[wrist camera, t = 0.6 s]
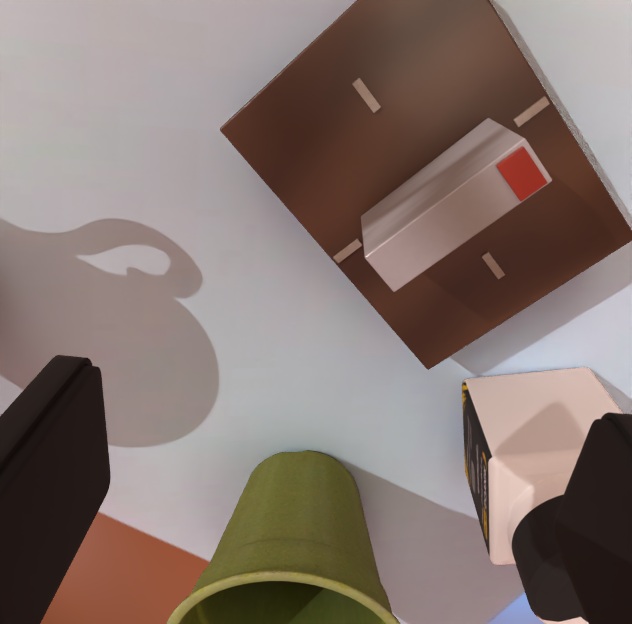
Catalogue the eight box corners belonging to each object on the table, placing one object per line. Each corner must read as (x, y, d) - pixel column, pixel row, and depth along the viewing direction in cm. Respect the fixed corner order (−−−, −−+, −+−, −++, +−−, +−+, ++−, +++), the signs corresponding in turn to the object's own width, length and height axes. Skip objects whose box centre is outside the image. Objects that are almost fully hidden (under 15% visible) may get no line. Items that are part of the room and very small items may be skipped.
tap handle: (384, 246, 25) (394, 295, 20) (359, 216, 24) (364, 259, 20) (512, 152, 23) (555, 182, 18) (488, 117, 22) (527, 138, 18)
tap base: (233, 118, 26) (217, 130, 23) (427, -63, 23) (441, -79, 19) (419, 336, 31) (428, 372, 28) (603, 215, 27) (638, 239, 24)
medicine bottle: (460, 376, 32) (520, 549, 21) (589, 364, 31) (719, 536, 20) (464, 471, 35) (518, 664, 24) (581, 462, 34) (691, 656, 24)
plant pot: (417, 439, 34) (449, 609, 24) (363, 567, 39) (370, 751, 29) (228, 396, 33) (178, 553, 23) (198, 532, 38) (147, 709, 28)
